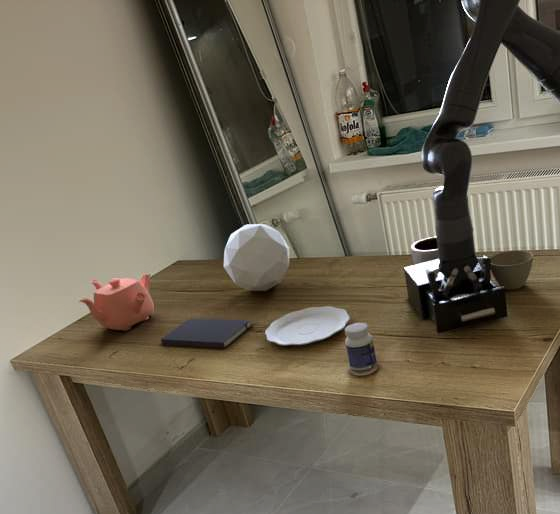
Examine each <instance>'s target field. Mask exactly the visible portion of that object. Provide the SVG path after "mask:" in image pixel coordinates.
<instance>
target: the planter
mask: <svg viewBox="0 0 560 514" xmlns="http://www.w3.org/2000/svg"><path fill="white" fill-rule="evenodd" d="M410 251H411V257H412V264H413V265H416V264H420V263H425V262H429V261H433V260H437V259H439V253H438V245H437V237H436V236H432V237H427V238H423V239H421V240H418V241H415V242H414V243H413V244H412V245H411V246H410Z"/></svg>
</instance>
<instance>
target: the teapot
mask: <svg viewBox="0 0 560 514" xmlns="http://www.w3.org/2000/svg"><path fill="white" fill-rule="evenodd" d="M90 282H91V284H92V285H93V286H94V287H95V289H96V290H94V292H93V301H92V300H91V299H90V298H82V299H78V300H77V302H79V303H83V304H84V305H86V307H87V308H88V310H89V312H90V314H91V316H92V317H93V318H94V319H95V320H96V321H97V322H98V323H99V324H100V325H101V327H103V328H106V329H110V330H115V331H116V330H117V331H120V330H121V331H122V332H123V331H124V332H125V331H129V330H131V329H132V326H134V325H135V324H138V323H140V322H145V321H147V320H148V319H150V318H149V317H150V316H151V315H152V314H153V313H154V310H155V304H154V300H153V298H152V296H151V294H150V288H151V287H150V284H151V274H150V273H145V274H142V275H141V279H140V280H139V279H136V278H130V277H122V278H120V277H114V278H110V279H109V281H108V284H105V285H102V283H101V282H100V281H98V280H97V279H92V280H90Z"/></svg>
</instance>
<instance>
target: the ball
mask: <svg viewBox="0 0 560 514" xmlns="http://www.w3.org/2000/svg"><path fill="white" fill-rule="evenodd" d="M289 267H290V247H289V245H288V244H287V242H286V241H285V239H284V238H283V236H282V234H281V232H280V231H278V230H277V229H275V228H274V227H272V226H269V225H268V224H263V223H262V224H260V223H259V224H257V223H256V224H255V223H253V224H251V223H249V224H247V223H246V224H245V225H243V226H242V227H240V228H239V229H238V228H237V230H235V231H234V232H232V233H231V234H230V236H229V237H228V240H227V243H226V244H225V247H224V253H223V269H224V270H225V271H226V273H227V274H228V276H229V277H230V278H231V280H232V282H233V284H236V285H237V286H238V287H240V288H242V289H244V290H245V291H247V292H267V291H269V290H270V289H272V288H273V287H275V286H276V285H278V284H280V283H282V281H283V280H284V277H285V275H286V273H287V271H288V269H289Z"/></svg>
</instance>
